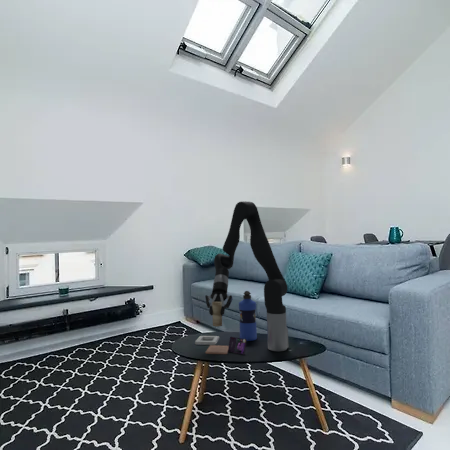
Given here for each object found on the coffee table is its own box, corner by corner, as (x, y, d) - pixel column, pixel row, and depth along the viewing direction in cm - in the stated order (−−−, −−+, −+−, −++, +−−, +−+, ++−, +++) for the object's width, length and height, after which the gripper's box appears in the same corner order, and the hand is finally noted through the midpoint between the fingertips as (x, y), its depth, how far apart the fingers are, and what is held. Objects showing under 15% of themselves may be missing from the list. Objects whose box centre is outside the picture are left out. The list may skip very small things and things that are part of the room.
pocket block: (200, 338, 180) (200, 335, 181) (219, 339, 179) (219, 336, 179) (195, 344, 170) (195, 341, 170) (215, 345, 168) (215, 342, 168)
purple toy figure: (229, 336, 160) (245, 339, 155) (235, 337, 164) (250, 340, 159) (227, 351, 158) (243, 354, 153) (232, 352, 162) (248, 355, 156)
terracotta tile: (210, 346, 166) (210, 345, 166) (230, 347, 164) (230, 345, 164) (205, 353, 156) (205, 351, 156) (226, 354, 154) (226, 352, 154)
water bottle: (256, 335, 183) (254, 289, 184) (258, 340, 174) (256, 292, 175) (239, 336, 183) (237, 290, 184) (240, 341, 174) (238, 292, 175)
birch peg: (218, 323, 164) (217, 301, 164) (224, 325, 160) (223, 302, 161) (210, 325, 161) (210, 302, 161) (216, 327, 157) (216, 303, 158)
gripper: (205, 280, 170) (200, 309, 157) (233, 280, 168) (230, 310, 155) (208, 289, 175) (203, 318, 162) (235, 290, 173) (232, 319, 160)
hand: (216, 314), depth 159 cm, fingers closed on birch peg, 4 cm apart
